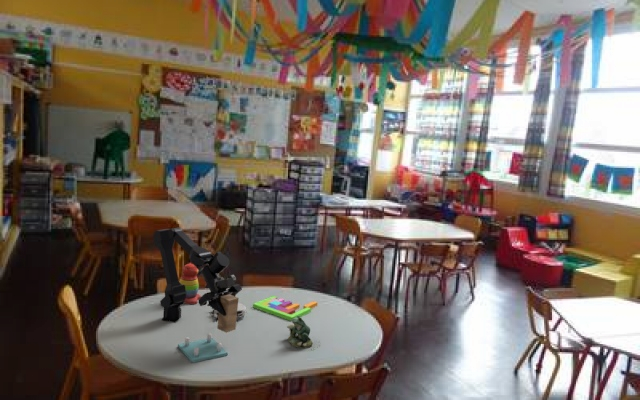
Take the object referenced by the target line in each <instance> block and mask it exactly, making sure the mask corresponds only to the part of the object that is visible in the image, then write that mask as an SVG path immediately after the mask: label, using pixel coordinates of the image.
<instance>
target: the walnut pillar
mask: <svg viewBox="0 0 640 400" xmlns="http://www.w3.org/2000/svg"><path fill="white" fill-rule="evenodd" d="M238 303H239V297H237V296H236V295H235V296H233V295H230V294H229V295H225V296H221V304H222V306H223V308H224V310H225V312H226V316H223V315H222V314H221V313H219V315H218V317H217V330H219V331H221V332H224V333H229V332H232V331H234V330H235V331H236V327H237V319H238V318H237V309H238Z"/></svg>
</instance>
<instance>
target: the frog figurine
mask: <svg viewBox="0 0 640 400" xmlns="http://www.w3.org/2000/svg"><path fill="white" fill-rule="evenodd" d="M286 328H287V329H289V337H287V341H288V342H290V345H291V346H292V347H294V348H304V349H307V348H308V349H309V348H311V347H312V346H313V340H312V339H311V338H310V337H309V336H310V333H311V328H310V326H308V324H306V322H305V320H304V319H303V318H302V316H301V317H300V316H297V317H296V318H293V319H292V321H291V323H290V324H288V325H287V326H286ZM317 343H318V347H321V342H320V340H318V341H317ZM314 350H315V347H313V349H311V351H314Z"/></svg>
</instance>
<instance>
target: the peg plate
mask: <svg viewBox="0 0 640 400" xmlns="http://www.w3.org/2000/svg"><path fill="white" fill-rule="evenodd" d="M177 347H178V349H179V350H180V351H181V352H182V353H183V354H184V355H185V356H186V358H187V359H188V360H189V361H190V362H191V364H192V363H196V362H201V361H202V362H203V361H206V360H212V359H216V358H220V357H224V356H228V354H229V353H228V351H227V350H226V349H224V348H223V346H222V342H218V341H216V340H215V339H214V338H213V337H212V333H207V335H206V338H205V339H199V340H193V341H190V337H188V336H187V337H184V343H179V344H177Z"/></svg>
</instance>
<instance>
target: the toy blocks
mask: <svg viewBox="0 0 640 400" xmlns="http://www.w3.org/2000/svg"><path fill="white" fill-rule="evenodd" d="M318 303H319V302H317V301H311V302H308V303H306V304H304V305H303V306H302V309H300V303H293V302H292V301H291V300H287V301H285V298H279V299H278V296H275V295H273V296H270V297H268V298H265V299H263V300H259V301H256V302H255V303H253V304H252V308H254V309H257V310H260V311H262V312H266V313H268V314H271V315H272V316H276V317H279V318H282V319H285V320H288V321H291V322H292V319H293V318H296V317H297V316H300V317H301V318H302V317H303V316H305V315H307V314H309V312H310V313H312V309H313V307H314V308H315V306H316V307H318ZM298 309H300V310H298ZM296 310H298V311H296Z"/></svg>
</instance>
